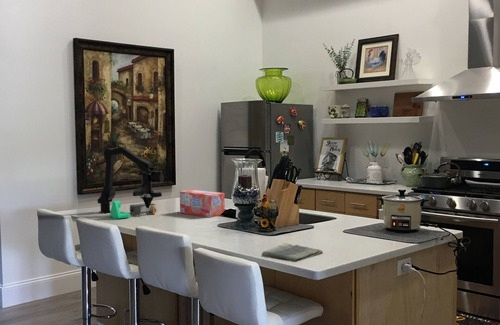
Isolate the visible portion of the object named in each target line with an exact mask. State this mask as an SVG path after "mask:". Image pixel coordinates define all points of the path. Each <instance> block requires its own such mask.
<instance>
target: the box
mask: <svg viewBox="0 0 500 325" xmlns="http://www.w3.org/2000/svg"><path fill="white" fill-rule="evenodd" d="M224 211H225V212H226V208H225V192H219V191H209V190H208V191H207V190H200V189H185V190H180V191H179V214H185V215H190V216H191V215H192V216H196V217H203V218H215V217H220V216H222V215H221V214H222V213H223V212H224Z"/></svg>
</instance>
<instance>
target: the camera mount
mask: <svg viewBox="0 0 500 325" xmlns="http://www.w3.org/2000/svg"><path fill="white" fill-rule="evenodd" d="M121 206H122V205H121V200H114V201H113V200H112V204H111V206H110V211H111V212H110V213H109V215H110V217H112V219H114V220H119V219H127V218H130V217H131V213H130V212H129V213H128V212H125V211H121V209H120V208H121Z"/></svg>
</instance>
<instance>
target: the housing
mask: <svg viewBox="0 0 500 325" xmlns="http://www.w3.org/2000/svg"><path fill="white" fill-rule="evenodd" d="M154 204H155V203H152V202H151V204H150V206H149V208H146V205H145V203H144V202H142V203H135V204H130V205H129V214H133V215H139V214H140V215H142V214H147V213H148V214H150V213H153V205H154Z"/></svg>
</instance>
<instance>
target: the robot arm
mask: <svg viewBox="0 0 500 325" xmlns="http://www.w3.org/2000/svg"><path fill="white" fill-rule="evenodd" d="M119 155H123V157H125V158H127V159H128V160H129V161H130V162H133V163H134V164H135V165H136V167H137V168H138V169H139V170H140V172H139V173H138V174H137V175H138V176H141V184H140V186H139V187H138V188H137V189H135V190H134V191H133V192H132V197H140V199H142V201H143V203H145V205H146V208H149V206H150V204H151V203H152V201H153V200H154V198H159V197H162V196H163V195H162V194H163V193H162V192H161V191H154V190H153V188H152V187H153V186H154V184H153V183H160V184H161V183H162V184H163V182H164V181H165V176H164V174H163V171H161V170H158V171H157V170H156V168H155V167H154V166H153V163H152V162H151V161H149V160H147V159H144V158H142V157H140V156H138V155H137V154H135V153H134V152H132V151H131V150H130V149H128V147H125V146H120V147H117V148H106V149H105V150H104V151H103V159H104V161H105V170H104V186H103V188H102V190H101V193H100V197H98V199H96V201H97V203H98V204H100V210H99V211H98V213H101V214H108V213H109V214H110V212H111V202H112V203H113V199H114V198H115V196H116V188H114V187H113V182H114V181H113V180H114V166H115V162H116V160H117V156H119Z"/></svg>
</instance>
